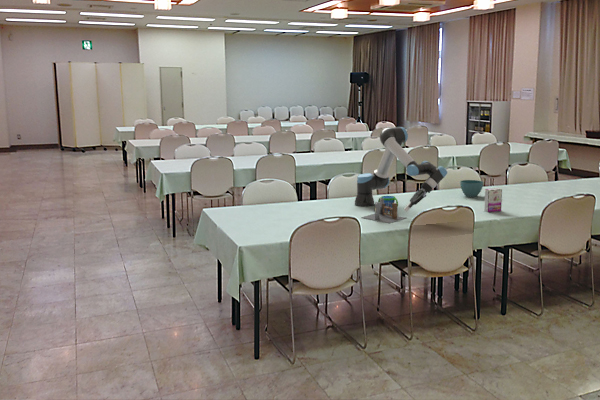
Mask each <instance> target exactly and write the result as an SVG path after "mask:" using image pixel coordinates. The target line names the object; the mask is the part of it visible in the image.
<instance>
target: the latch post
mask: <svg viewBox="0 0 600 400" xmlns="http://www.w3.org/2000/svg"><path fill="white" fill-rule="evenodd" d="M374 214H375V220H379V216H380V202H378V201H374Z"/></svg>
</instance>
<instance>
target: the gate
mask: <svg viewBox="0 0 600 400" xmlns="http://www.w3.org/2000/svg"><path fill="white" fill-rule="evenodd" d="M385 208H386V211H385ZM388 209H390V211H388ZM391 210H392V211H391ZM383 215H388V216H391V217H392V218H393V219H397V216H398V207H397V203H396V202H394V203H392V208H390V207H387V206H385V204H383Z"/></svg>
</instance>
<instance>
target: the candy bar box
mask: <svg viewBox="0 0 600 400" xmlns="http://www.w3.org/2000/svg"><path fill="white" fill-rule="evenodd" d="M502 198H503V189H502V188H499V187H498V188H486V189H484V212H486V213H497V212H498V213H499V212H501V211H502V202H503V201H502V200H503V199H502Z"/></svg>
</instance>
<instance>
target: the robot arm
mask: <svg viewBox="0 0 600 400" xmlns="http://www.w3.org/2000/svg"><path fill="white" fill-rule="evenodd" d="M379 133H380V134H379V141H380V143H381V144H382V146H383V147H384V148H385V149H384V151H383V154H382V157H381V159H380V161H379V164H378V166H377V169H375V170H374V172H373V174H372V173H360V174H358V176H357V179H356V182H357V183H356V185H357V186H356V195H355V196H356V197H355V199H354V205H355V206H359V207H370V206H375V200H374V196H373V191H376V190H383V189H386V188H387V187H388V186H389V184H390V181H391V180H390V175H389V172H390V170H391V166H392V164H393V161H394V159H395V158H396V159H397V160H399V162H400V163H401V164H402V165H403V166H404V168H406V174H407V175H408V176H410V177H416V176H421V175H428V177H427V179H426V180H425V181H424V182H423V183H421V185H420V186H421V188H420V189H417V190H416V191H415V193H414V194H413V195H412V197H411V198H410V199H409V203H408V204H407V205H406V206H405V207H404V208H403V210H404V211H405V212H406V213H408V212H409V210H410V209H412V208H413V206H414V205H418V203H420V202H421V201H422V200H423V199H424V198H426V197H427V193H428V194H429V193H431V192H432V191H433V189H434V188H436V187H437V186H438V185H439V183H441V181H442V180H443V179H444V178H445V177H446V176H447V175H448V170H447V169H446V168H445V167H443V165H439V166H438V167H437V166H436V165H434V164H433V163H431V162H430V161H428V160H423V161H422V162H421V163H417V162H416V161H415V159H413V157H411V155H410V154H409V153H408V152H407V151H406V150H405V149H404V148H403V147H402V145H403V144H404V143H405V142H407V140H408V139H409V136H408V135H409V134H408V130H407V129H406V128H405V127H404V126H395V127H385V128H383V129H381V131H380V132H379Z"/></svg>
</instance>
